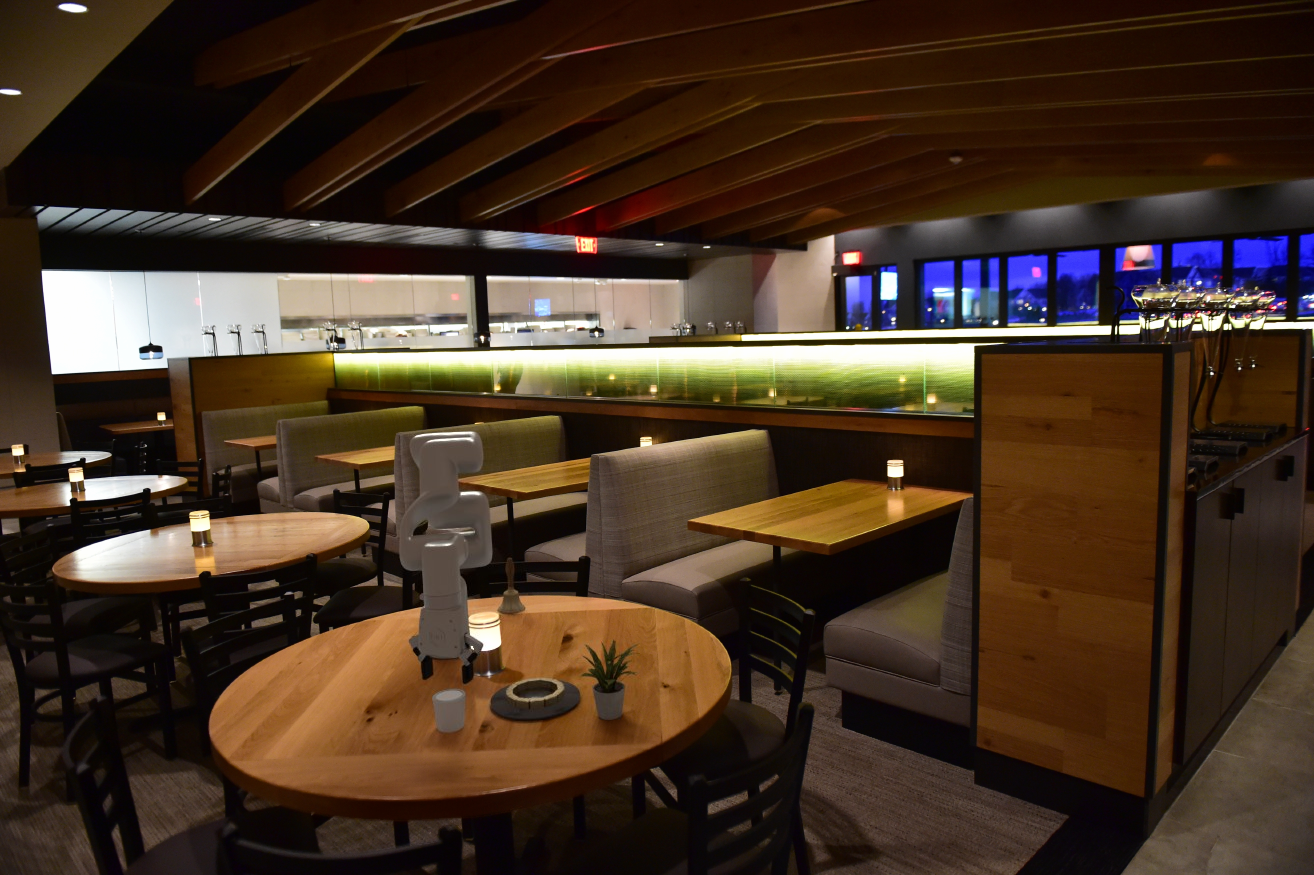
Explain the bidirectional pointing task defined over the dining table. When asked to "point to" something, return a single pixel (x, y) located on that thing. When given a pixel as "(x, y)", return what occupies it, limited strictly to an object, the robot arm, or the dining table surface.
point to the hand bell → (511, 593)
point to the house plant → (609, 681)
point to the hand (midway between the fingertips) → (447, 679)
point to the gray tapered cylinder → (449, 710)
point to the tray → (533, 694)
